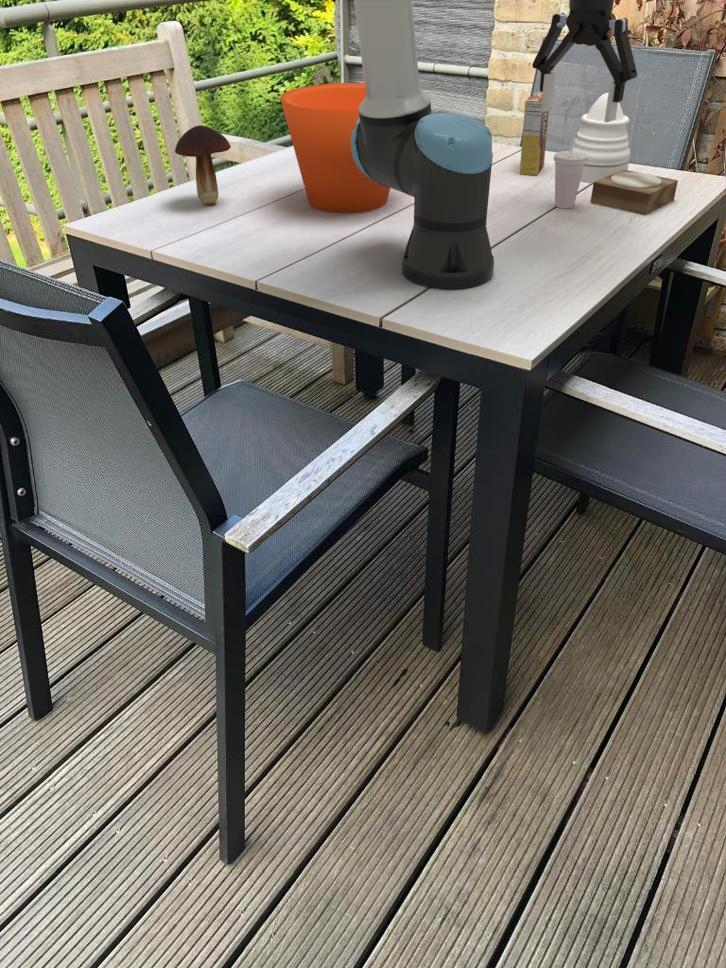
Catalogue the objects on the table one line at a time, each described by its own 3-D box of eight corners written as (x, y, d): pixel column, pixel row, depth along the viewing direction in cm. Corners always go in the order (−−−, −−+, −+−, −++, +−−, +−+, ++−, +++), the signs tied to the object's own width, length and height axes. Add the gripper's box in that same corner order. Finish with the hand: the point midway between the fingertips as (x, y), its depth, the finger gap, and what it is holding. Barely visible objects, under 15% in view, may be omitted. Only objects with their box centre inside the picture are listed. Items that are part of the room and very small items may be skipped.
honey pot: (608, 165, 188) (622, 78, 177) (637, 180, 178) (654, 90, 167) (556, 169, 185) (567, 82, 175) (583, 186, 175) (596, 94, 165)
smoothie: (578, 200, 167) (589, 127, 159) (582, 210, 162) (593, 135, 154) (546, 200, 168) (555, 126, 159) (549, 210, 162) (558, 135, 154)
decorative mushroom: (188, 215, 162) (177, 134, 153) (177, 199, 170) (166, 122, 162) (242, 208, 165) (234, 128, 157) (228, 193, 174) (220, 116, 165)
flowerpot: (267, 214, 162) (259, 106, 150) (311, 179, 181) (307, 80, 170) (390, 225, 156) (391, 113, 144) (421, 187, 175) (425, 86, 164)
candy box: (525, 164, 189) (532, 91, 180) (544, 165, 188) (552, 92, 179) (517, 174, 182) (524, 100, 173) (537, 176, 181) (545, 101, 172)
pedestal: (645, 215, 159) (649, 192, 157) (590, 202, 166) (593, 180, 163) (673, 200, 166) (678, 178, 164) (619, 189, 173) (623, 167, 170)
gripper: (671, -14, 138) (648, 121, 150) (543, -22, 151) (532, 103, 164) (650, -10, 133) (628, 129, 146) (520, -18, 147) (510, 110, 160)
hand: (577, 115), depth 155 cm, fingers open, 13 cm apart
